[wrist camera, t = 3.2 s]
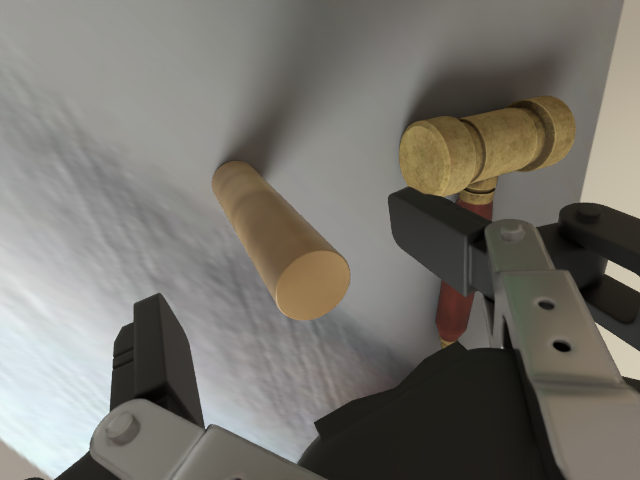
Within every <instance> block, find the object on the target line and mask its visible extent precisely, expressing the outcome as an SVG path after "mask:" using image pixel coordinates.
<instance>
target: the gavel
mask: <svg viewBox="0 0 640 480" xmlns="http://www.w3.org/2000/svg"><path fill="white" fill-rule="evenodd" d="M575 131H576V126H575V120H574V117H573V114H572V112H571V110H570V109H569V107H568V106H567V105H566V104H565V103H564V102H563V101H561V100H559V99H558V98H555V97H552V96H538V97H533V98H529V99H524V100H519V101H516V102H513V103H511V104H510V105H508V106H507V107H506V108H505V109H501V110H496V111H491V112H486V113H482V114H477V115H472V116H468V117H463V118H458V119H456V118H454V117H451V116H441V117H436V118H431V119H426V120H421V121H417V122H414V123H412V124H411V125H410V126H408V127H407V129H406V130H405V132H404V134H403V136H402V139H401V143H400V149H399V161H400V168H401V172H402V175H403V177H404V179H405V181H406V183H407V185H408V187H412V188H414V189H416V190H418V191H420V192H422V193H424V194H432V195H437V196H442V197H445V196H448V195H452V194H455V193H458V192H460V193H459V197H458V200H457V203H456V204H458V205H460V206H462V208H466V209H468V210H470V211H472V212H474V213H476V214H478V215H480V216H482V217H484V218H486V219H488V220H490V221H491V220H492V211H493V196H494V191H495V187H496V185H497V180H498V176H499V175H502V174H506V173H509V172H513V171H518V172H529V171H533V170H537V169H540V168H543V167H547V166H550V165H553V164H555V163H557V162H559V161H560V160H562V159H563V158H564V157H565V156H566V155H567V153H568V152H569V150H570V149H571V147H572V144H573V142H574V138H575ZM474 294H475V292H474V293H472V294H471V295H469V296H467V297H464V296H463V295H461V294H460V293H459V292H458V291H456V290H455V289H454V288H452V287H451V286H450V285H448V284H447V283H446V282H444V281H443V280H442V284H441V290H440V296H439V303H438V309H437V315H436V325H437V328H438V332H439V338H440V340H441V341H442V342H441V347H442V348H445V347H447V346H448V345H450V344H452V343H454V342H455V341H457V340H458V338H459V337H460V336H461V335H462V334H463V333H464V331H465V330H466V328H467V324H468V320H469V315H470V311H471V307H472V302H473V298H474Z"/></svg>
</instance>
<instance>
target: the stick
mask: <svg viewBox="0 0 640 480" xmlns="http://www.w3.org/2000/svg"><path fill="white" fill-rule="evenodd" d="M212 189H213V192H214V194H215V196H216V198H217V200H218V201H219V203H220V205H221V207H222V209H223V210H224V212H225V214H226V216H227V217H228V219H229V221H230V223H231V225H232V226H233V228H234V230H235V232H236V233H237V235H238V237H239V239H240V240H241V242H242V244H243V246H244V248H245V249H246V251H247V253H248V255H249V256H250V258H251V260H252V262H253V264H254V265H255V267H256V269H257V271H258V272H259V274H260V276H261V278H262V279H263V281H264V283H265V285H266V287H267V288H268V290H269V292H270V294H271V295H272V297H273V299H274V301H275V303H276V304H277V306H278V308H279V309H280V311H281V312H282V313H283V314H285V315H286V316H288V317H290V318H293V319H296V320H310V319H314V318H318V317H320V316H322V315H324V314H326V313H328V312H329V311H331V310H332V309H333V308H334V307H335V306H336V305H337V304H338V303H339V302H340V301H341V300H342V298H343V297H344V295H345V293H346V292H347V289H348V286H349V283H350V269H349V265H348V263H347V261H346V260H345V258H344V257H343V256H342V255H341V254H340V253H339V252H338V251H337V250H336V249H335V248H334V247H333V246H331V245H330V244H329V243H328V242H327V241H326V240H325V239H324V238H323V237H322V236H321V235H320V234H319V233H318V232H317V231H316V230H315V229H314V228H313V227H312V226H311V225H310V224H309V223H308V222H307V221H306V220H305V219H304V218H303V217H302V216H301V215H300V214H299V213H298V212H297V211H296V210H295V209H294V208H293V207H292V206H291V205H290V204H289V203H288V202H287V201H286V200H285V199H284V198H283V197H282V196H281V195H280V194H279V193H278V192H277V191H276V190H275V189H274V188H273V187H272V186H271V185H270V184H269V183H268V182H267V181H266V180H265V179H264V178H263V177H262V176H261V175H260V174H259V173H258V172H257V171H256V170H255V169H254V168H253V167H252V166H250V165H249V164H247V163H245V162H242V161H231V162H227V163H225V164H223V165H222V166H221V167H219V168H218V170H217V171H216V172H215V174H214V176H213V180H212Z"/></svg>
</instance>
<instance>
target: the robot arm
mask: <svg viewBox="0 0 640 480" xmlns="http://www.w3.org/2000/svg"><path fill="white" fill-rule="evenodd" d="M388 205H389V213H390V221H391V229H392V234H393V237H394V240H395V241H396V243H397V244H398V246H399V247H400V248H401V249H403V250H404V251H405V252H407V253H408V254H409V255H411V256H412V257H413V258H415V259H416V260H417V261H418V262H420V263H421V264H422V265H424V266H425V267H426V268H428V269H429V270H430V271H431V272H433V273H434V274H435V275H437V276H438V277H439V278H441V279H442V280H443V281H444V282H446V283H447V284H448V285H450V286H451V287H452V288H454V289H455V290H456V291H458V292H459V293H460V294H461V295H463V296H464V297H467V296H469V295H471V294H472V293H474V292H476V291H480V292H481V293H482V305H483V310H484V315H485V321H486V326H487V331H488V337H489V342H490V347H489V348H477V349H470V350H467V349H466V348H465V347H464V346H462V345H461V344H460V343H459V342H458V341H455V342H454V343H452V344H450V345H448V346H447V347H445V348H443V349H441V350H440V351H438V352H436V353H434V354H433V355H431V356H429V357H427V358H426V359H424V360H423V361H422V362H421V363H420V364H419V365H418V366H417V367H416V368H415V369H414V370H413V371H412V372H411V373H410V374H409V375H408V376H407V377H406V378H405V379H404V380H403V381H402V382H401V383H400V385H398V386H397V387H396V388H394V389H391V390H387V391H384V392H380V393H377V394H373V395H370V396H367V397H363V398H360V399H356V400H353V401H351V402H349V403H347V404H345V405H344V406H342V407H340V408H338V409H337V410H335V411H333V412H331V413H330V414H328V415H326V416H324V417H323V418H321V419H319V420H317V421H316V422H314V424H315V427H316V429H317V432H318V434H319V436H318V437H317V438H316V439H315V440H314V441H313V442H312V443H311V444H310V446H309V447H308V448H307V449H306V451H305V452H304V453H303V455H302V457H301V458H300V460H299V461H298V463H297V464H295V463H293V462H291V461H289V460H287V459H285V458H283V457H281V456H279V455H277V454H275V453H273V452H271V451H269V450H267V449H265V448H262V447H260V446H258V445H256V444H254V443H252V442H250V441H248V440H246V439H244V438H242V437H240V436H238V435H236V434H234V433H232V432H230V431H228V430H226V429H224V428H222V427H220V426H217V425H213V424H210V425H209V426H208V427H207V429H205V426H204V420H203V415H202V409H201V404H200V399H199V393H198V388H197V382H196V377H195V372H194V366H193V361H192V356H191V350H190V345H189V342H188V339H187V336H186V334H185V332H184V330H183V328H182V326H181V325H180V323H179V321H178V320H177V318H176V316H175V315H174V313H173V312H172V310H171V308H170V307H169V305H168V303H167V302H166V300H165V298H164V297H163V295H162V294H161V293H157V294H155V295H153V296H150V297H148V298H146V299H143V300H141V301H139V302H136V303H135V304H134V322H133V323H130V324H128V325H126V326H124V327H122V329H121V330H120V332H119V334H118V336H117V338H116V340H115V342H114V352H113V357H114V359H113V371H112V383H111V399H110V413H109V414H108V415H107V416H105V417H104V419H103V420H102V421H101V422H100V423H99V425H98V426H97V428H96V429H95V431H94V433H93V435H92V438H91V441H90V448H89V449H90V450H89V451H88V452H87V453H86V454H85V455H84V456H83V457H82V458H81V459H80V460H78V461H77V462H76V463H75V464H73V465H72V466H71V467H69V468H68V469H67V470H66V471H64V472H63V473H62V474H61V475H59V476H58V477H57V478H56V479H54V480H640V380H636V379H631V378H628V377H624V376H621V374H620V372H619V370H618V368H617V366H616V364H615V362H614V360H613V358H612V356H611V354H610V352H609V350H608V348H607V346H606V344H605V342H604V340H603V338H602V336H601V334H600V332H599V330H598V328H597V326H596V324H595V322H596V323H598V324H599V325H601V326H602V327H604V328H605V329H607V330H608V331H610V332H611V333H613V334H614V335H616V336H617V337H619V338H620V339H622V340H623V341H625V342H626V343H628V344H629V345H631V346H632V347H634V348H636V349H637V350H639V351H640V293H639V292H638V291H636V290H634V289H632V288H630V287H628V286H626V285H625V284H623V283H621V282H619V281H617V280H615V279H613V278H612V277H610V276H608V275H606V274H604V273H605V269H606V266H607V262H608V260H610V261H612V262H614V263H616V264H618V265H620V266H622V267H624V268H626V269H628V270H630V271H632V272H634V273H636V274H637V275H638V276H639V277H640V219H638V218H636V217H633V216H631V215H628V214H625V213H623V212H620V211H618V210H615V209H612V208H610V207H607V206H604V205H600V204H596V203H574V204H570V205H567V206H565V207H563V208H562V209H561V210H560V214H559V219H558V223H554V224H549V225H545V226H540V227H535V226H534V225H532V224H530V223H528V222H525V221H522V220H516V219H503V220H498V221H495V222H492V221H490V220H488V219H486V218H484V217H482V216H480V215H478V214H476V213H474V212H472V211H470V210H468V209H466V208H462V206H460V205H458V204H456V203H454V204H453V202H452V201H450V200H448V199H446V198H444V197H442V196H437V195H432V194H424V193H422V192H420V191H418V190H416V189H414V188H412V187H406V188H404V189H401V190H399V191H397V192H394V193H392V194H390V195H389V197H388ZM594 321H595V322H594ZM25 480H44V479H41V478H36V477H34V478H28V479H25Z"/></svg>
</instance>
